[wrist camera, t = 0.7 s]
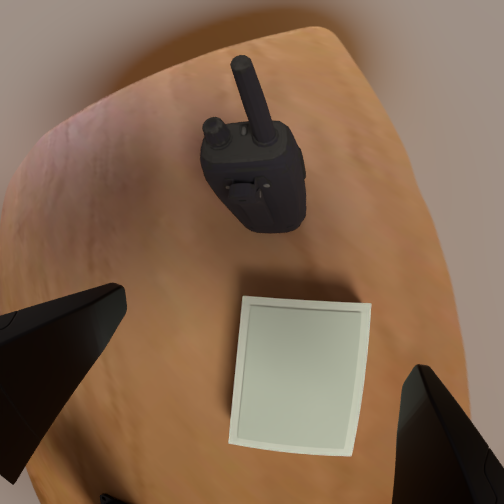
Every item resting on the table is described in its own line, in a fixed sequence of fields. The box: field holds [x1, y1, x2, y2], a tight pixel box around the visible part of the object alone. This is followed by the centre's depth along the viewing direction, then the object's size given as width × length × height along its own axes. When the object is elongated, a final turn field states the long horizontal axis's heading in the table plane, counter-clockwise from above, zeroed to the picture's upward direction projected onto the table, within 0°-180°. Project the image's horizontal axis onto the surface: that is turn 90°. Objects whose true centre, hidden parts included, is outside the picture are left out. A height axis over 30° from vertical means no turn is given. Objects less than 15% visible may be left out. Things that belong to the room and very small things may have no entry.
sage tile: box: [228, 296, 371, 456], centre depth 19 cm, size 8×10×3 cm
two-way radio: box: [200, 55, 306, 233], centre depth 16 cm, size 6×4×15 cm
